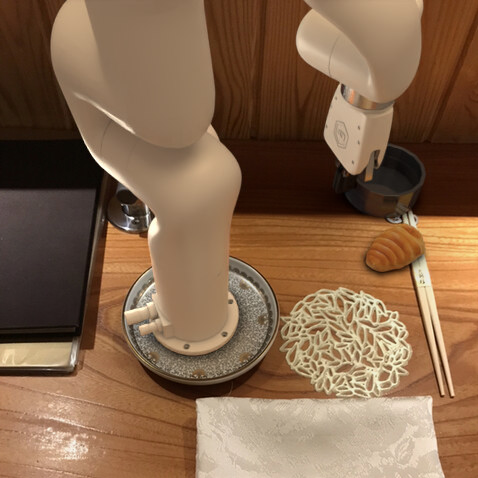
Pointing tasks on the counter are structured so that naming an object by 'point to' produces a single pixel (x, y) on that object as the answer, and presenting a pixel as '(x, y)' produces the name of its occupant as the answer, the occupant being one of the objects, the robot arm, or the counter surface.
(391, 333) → the counter surface
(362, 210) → the pot
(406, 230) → the pastry
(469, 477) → the counter surface
